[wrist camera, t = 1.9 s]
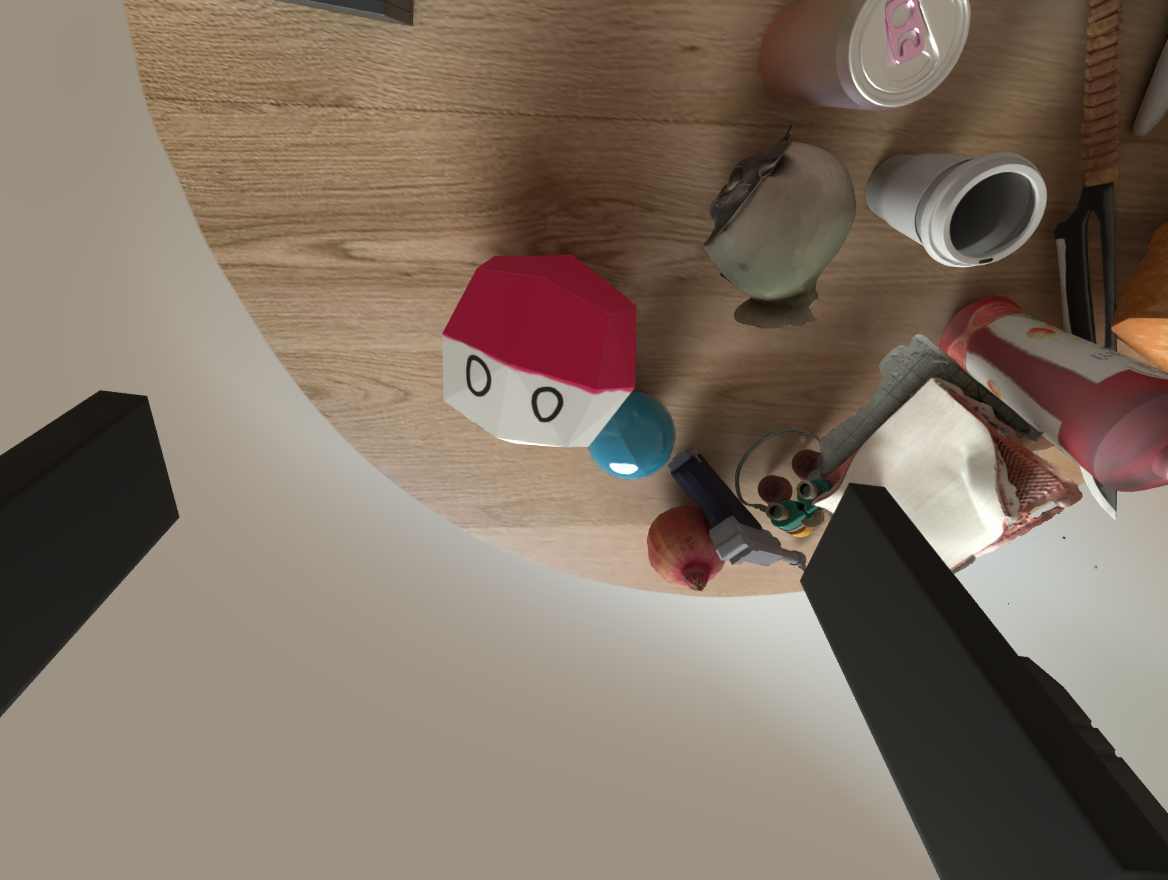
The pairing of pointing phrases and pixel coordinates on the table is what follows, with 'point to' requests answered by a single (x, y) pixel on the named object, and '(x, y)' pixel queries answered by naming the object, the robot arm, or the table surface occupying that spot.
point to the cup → (960, 203)
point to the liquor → (1069, 391)
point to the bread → (1147, 304)
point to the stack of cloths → (944, 456)
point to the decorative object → (540, 350)
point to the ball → (635, 438)
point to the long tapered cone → (1154, 98)
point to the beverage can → (862, 51)
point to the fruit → (683, 547)
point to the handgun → (728, 516)
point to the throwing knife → (1095, 197)
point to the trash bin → (366, 8)
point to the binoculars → (779, 491)
